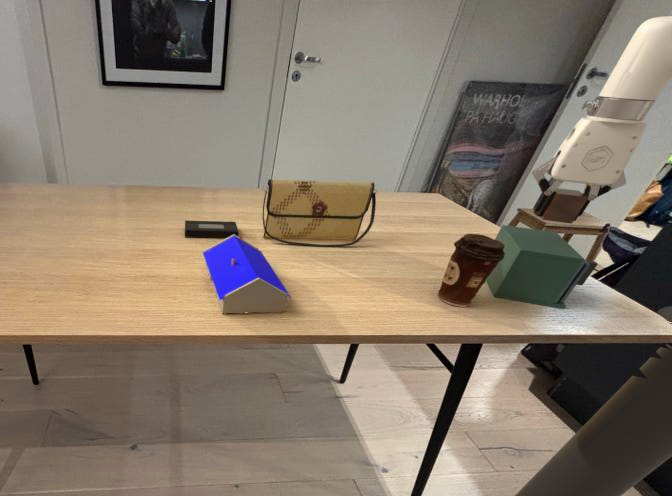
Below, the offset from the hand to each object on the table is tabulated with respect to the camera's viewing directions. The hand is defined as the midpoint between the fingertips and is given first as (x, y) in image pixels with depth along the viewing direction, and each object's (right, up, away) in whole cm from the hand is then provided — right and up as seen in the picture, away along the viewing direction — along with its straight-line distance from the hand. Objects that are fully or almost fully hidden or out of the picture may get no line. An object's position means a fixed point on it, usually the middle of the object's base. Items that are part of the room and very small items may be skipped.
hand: (554, 215), depth 79 cm
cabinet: (+1, -13, +9) cm, 16 cm away
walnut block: (0, 0, 0) cm, 0 cm away
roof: (-63, -13, +5) cm, 65 cm away
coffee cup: (-18, -17, +4) cm, 25 cm away
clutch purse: (-41, +3, +27) cm, 49 cm away
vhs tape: (-68, +6, +29) cm, 75 cm away
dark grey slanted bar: (+7, -16, +4) cm, 18 cm away
